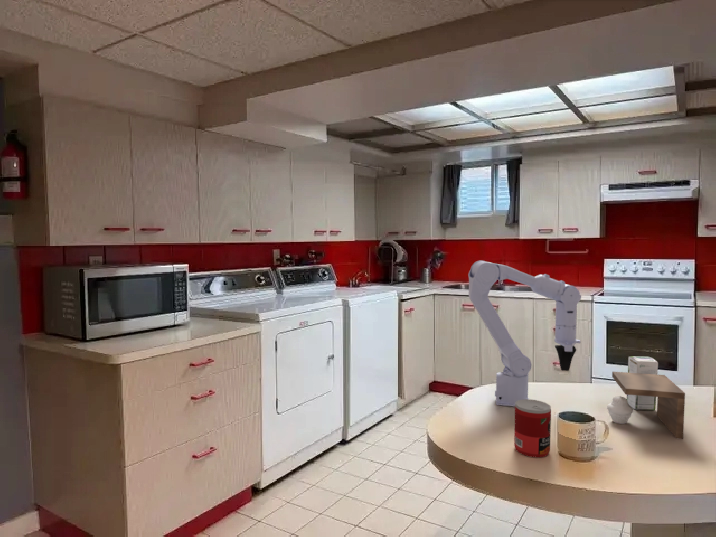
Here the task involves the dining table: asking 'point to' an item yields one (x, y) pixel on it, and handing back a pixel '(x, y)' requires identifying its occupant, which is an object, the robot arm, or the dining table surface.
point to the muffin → (619, 410)
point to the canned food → (532, 428)
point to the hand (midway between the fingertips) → (564, 370)
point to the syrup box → (645, 367)
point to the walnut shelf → (663, 389)
